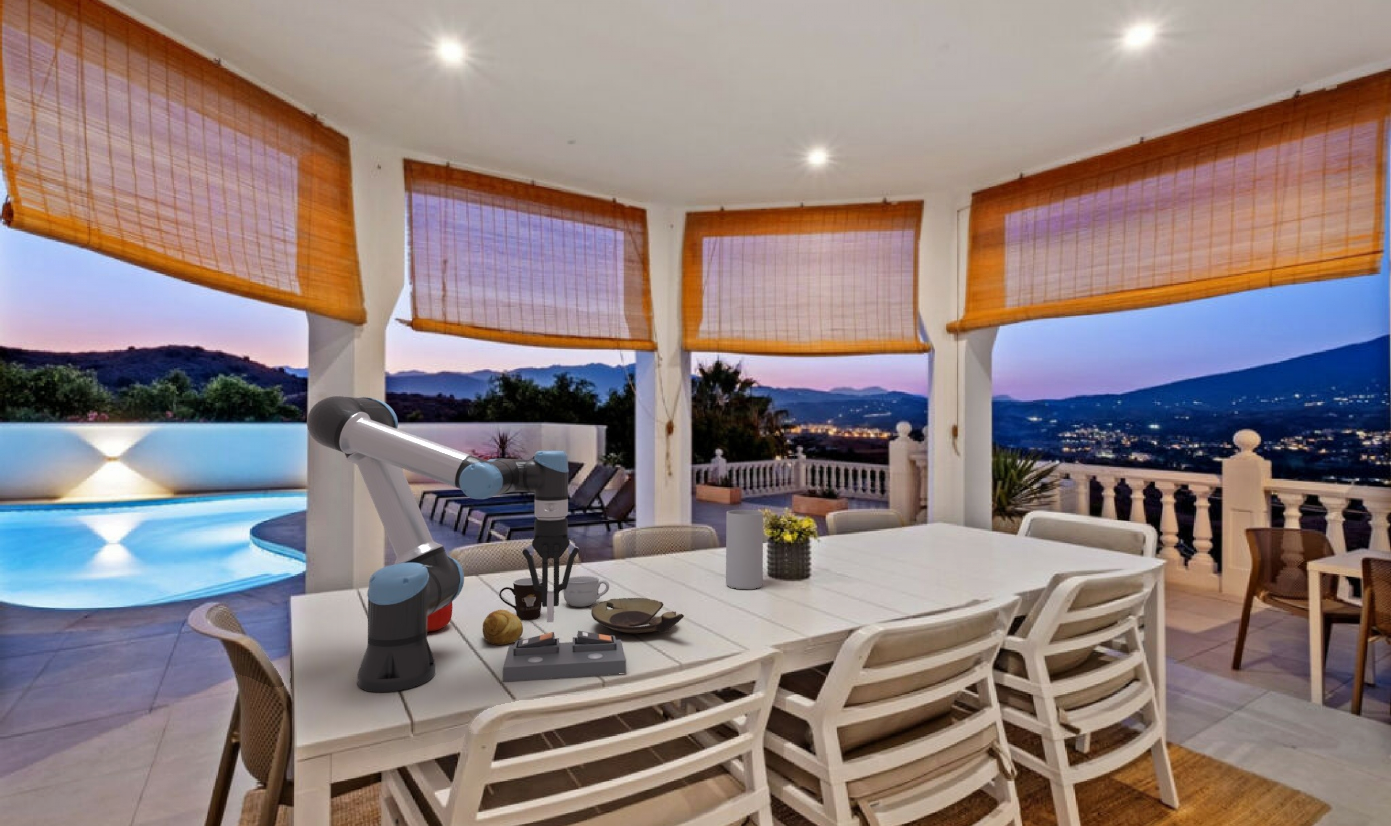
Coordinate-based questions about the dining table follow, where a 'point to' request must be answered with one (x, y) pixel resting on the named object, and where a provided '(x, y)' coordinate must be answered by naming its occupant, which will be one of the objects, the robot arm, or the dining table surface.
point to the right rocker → (593, 638)
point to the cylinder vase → (744, 549)
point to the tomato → (439, 618)
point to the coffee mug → (525, 599)
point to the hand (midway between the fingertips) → (550, 620)
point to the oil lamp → (634, 615)
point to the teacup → (583, 590)
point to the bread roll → (502, 627)
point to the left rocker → (537, 641)
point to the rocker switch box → (563, 660)
